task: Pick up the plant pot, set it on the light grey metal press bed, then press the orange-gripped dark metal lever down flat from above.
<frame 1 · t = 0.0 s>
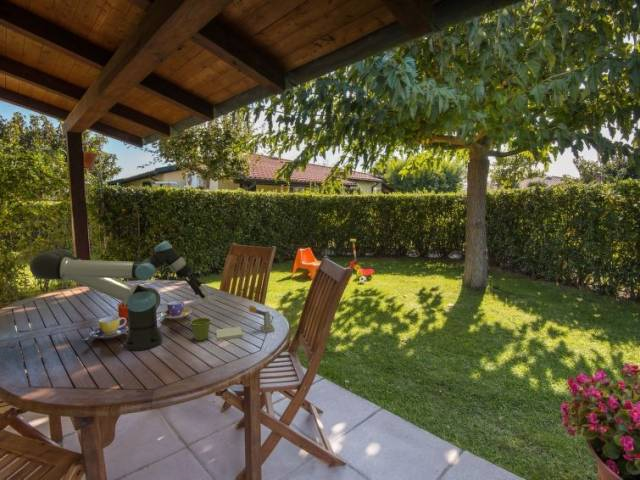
hand: (207, 298, 179), 15 cm above the table, tool tilted 35°, fingers open, 13 cm apart
lever stand: (267, 329, 176), on the table
plant pot: (201, 338, 165), on the table
press bed: (229, 334, 170), on the table
press lever: (259, 311, 173), point 10 cm above the table, hinge at 25.0°
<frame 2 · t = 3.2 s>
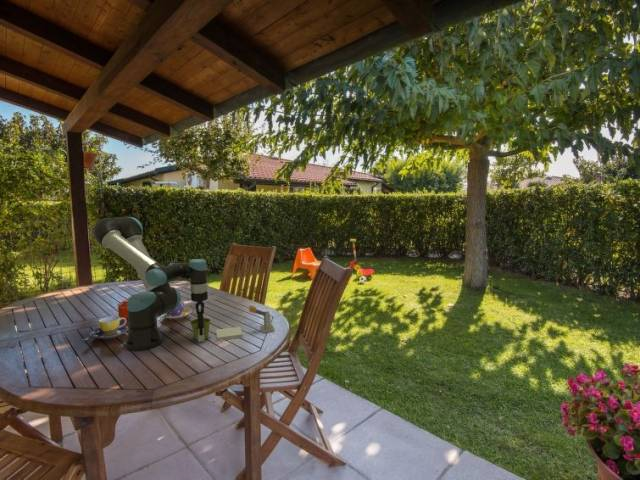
hand: (201, 337, 165), 0 cm above the table, tool pointing down, fingers closed on plant pot, 8 cm apart
plant pot: (201, 338, 165), on the table, touching gripper
everything else where it was.
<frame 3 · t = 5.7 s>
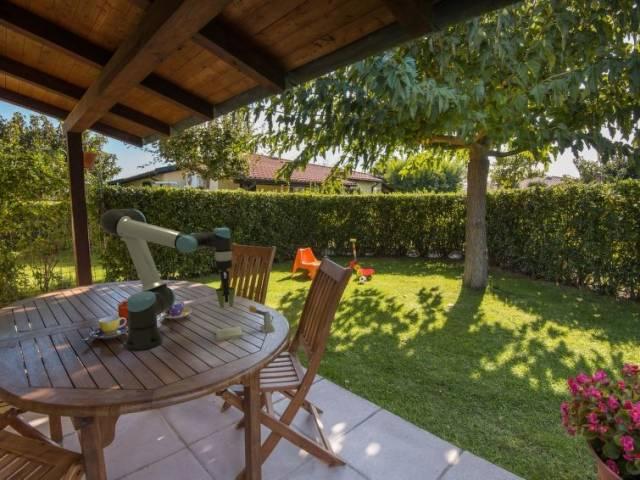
hand: (226, 305, 167), 15 cm above the table, tool pointing down, fingers closed on plant pot, 8 cm apart
plant pot: (226, 306, 167), point 14 cm above the table, touching gripper
everything else where it was.
when the fingers open (3 cm above the table, at t = 8.3 s): plant pot drops 1 cm, resting on press bed.
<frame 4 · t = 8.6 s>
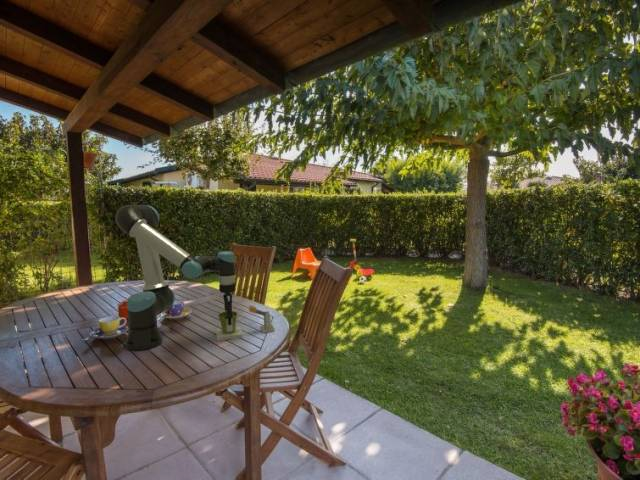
hand: (228, 326, 169), 4 cm above the table, tool pointing down, fingers open, 11 cm apart
plant pot: (228, 331, 170), point 1 cm above the table, touching press bed
everything else where it was.
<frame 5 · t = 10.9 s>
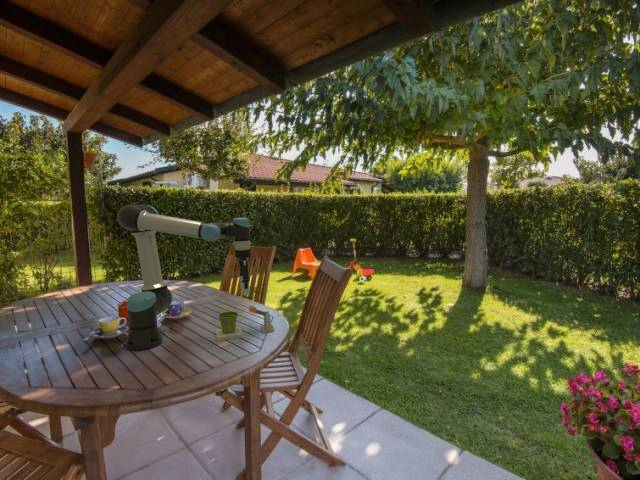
hand: (244, 291, 170), 21 cm above the table, tool pointing down, fingers open, 13 cm apart
nothing on the table moved.
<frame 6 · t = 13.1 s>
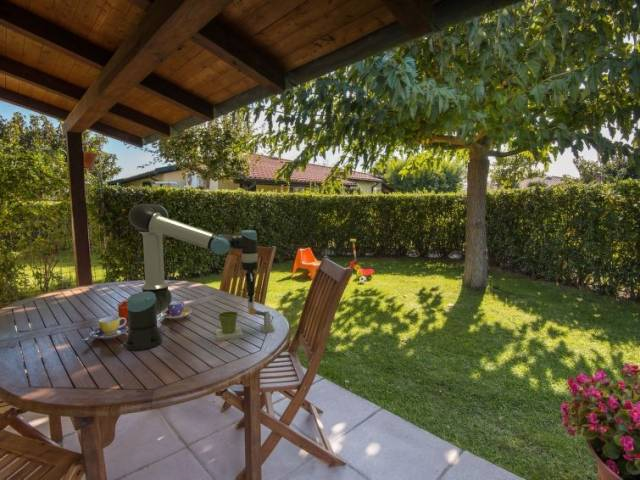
hand: (250, 307, 172), 12 cm above the table, tool pointing down, fingers closed
press lever: (259, 312, 173), point 10 cm above the table, hinge at 18.8°, touching gripper
everything else where it was.
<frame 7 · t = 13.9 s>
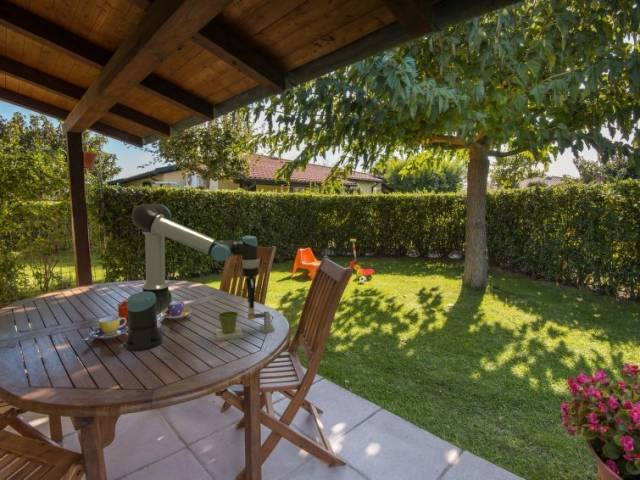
hand: (251, 313, 172), 10 cm above the table, tool pointing down, fingers closed
press lever: (258, 315, 173), point 8 cm above the table, hinge at 0.4°, touching gripper
everything else where it was.
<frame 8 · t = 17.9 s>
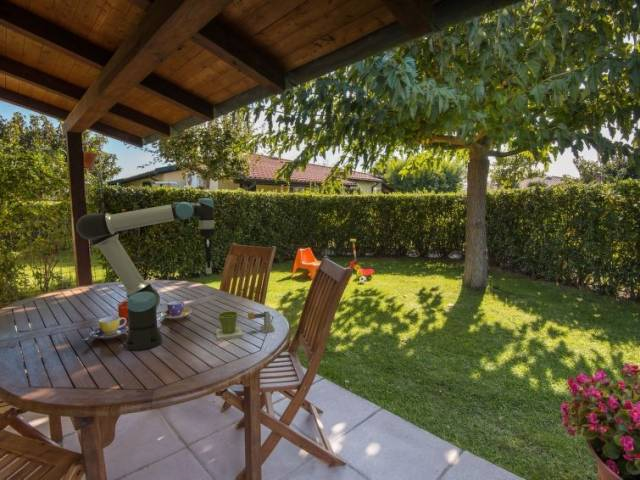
hand: (209, 273, 179), 28 cm above the table, tool pointing down, fingers closed
press lever: (258, 315, 173), point 8 cm above the table, hinge at 0.2°
everything else where it was.
at the end: plant pot inside the target area on the press bed (1.1 cm from its centre), point 1.3 cm above the press bed's base; plant pot tilted 0°; press lever at +0° (first picture: +25°) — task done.
